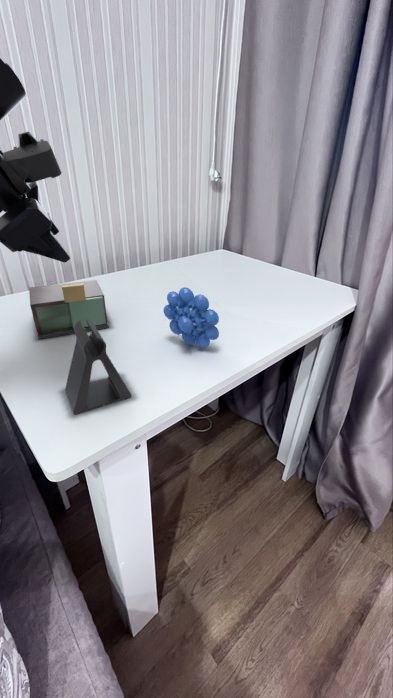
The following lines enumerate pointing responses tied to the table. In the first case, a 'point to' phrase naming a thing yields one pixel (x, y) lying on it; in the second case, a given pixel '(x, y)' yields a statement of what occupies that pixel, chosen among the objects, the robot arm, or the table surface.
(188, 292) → the grapes
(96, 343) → the phone stand
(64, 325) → the cabinet
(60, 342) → the table surface
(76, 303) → the door
